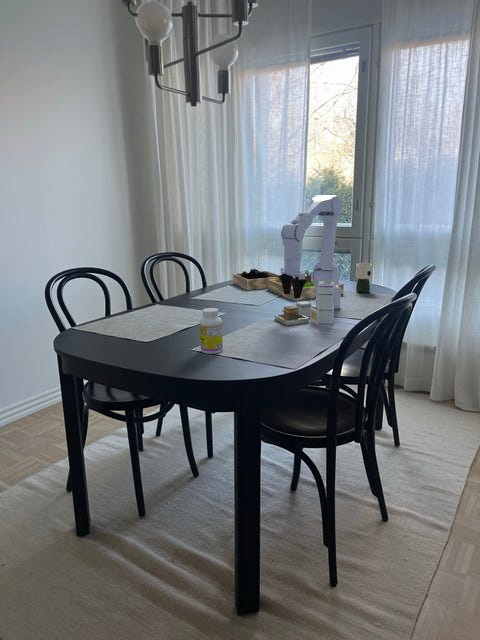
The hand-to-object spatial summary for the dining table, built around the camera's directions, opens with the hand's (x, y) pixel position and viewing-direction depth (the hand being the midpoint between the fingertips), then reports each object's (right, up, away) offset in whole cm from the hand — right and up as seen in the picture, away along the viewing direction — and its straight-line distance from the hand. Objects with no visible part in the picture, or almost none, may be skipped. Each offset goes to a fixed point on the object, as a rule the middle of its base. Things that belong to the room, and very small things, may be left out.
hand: (292, 296), depth 171 cm
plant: (+12, +4, +50) cm, 52 cm away
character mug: (+38, +4, +49) cm, 62 cm away
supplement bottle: (-27, -18, -28) cm, 43 cm away
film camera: (-11, +8, +68) cm, 69 cm away
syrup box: (+12, -9, +1) cm, 15 cm away
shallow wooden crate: (-10, +9, +70) cm, 71 cm away
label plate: (+8, -10, -1) cm, 13 cm away
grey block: (+5, -7, +10) cm, 14 cm away
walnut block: (0, -9, +2) cm, 9 cm away
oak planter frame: (+11, +4, +51) cm, 52 cm away
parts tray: (0, -9, +2) cm, 9 cm away
